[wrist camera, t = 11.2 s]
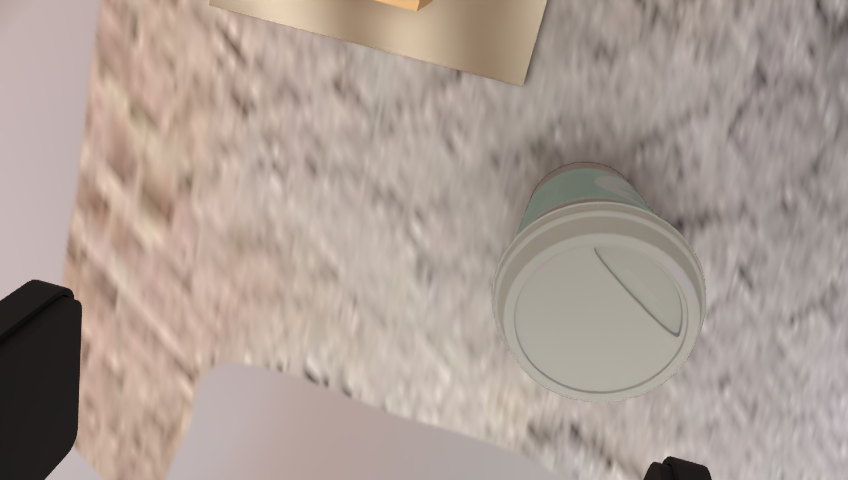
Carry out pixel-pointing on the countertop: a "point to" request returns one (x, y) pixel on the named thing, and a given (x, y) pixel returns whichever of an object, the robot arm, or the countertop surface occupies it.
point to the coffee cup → (597, 289)
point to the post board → (420, 29)
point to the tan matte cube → (408, 3)
